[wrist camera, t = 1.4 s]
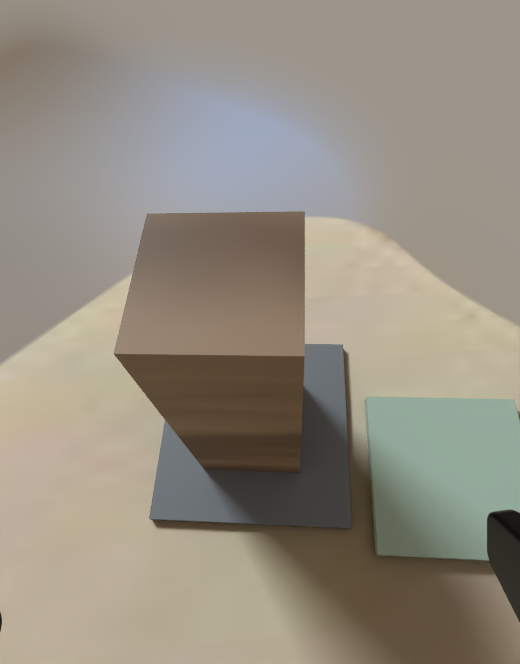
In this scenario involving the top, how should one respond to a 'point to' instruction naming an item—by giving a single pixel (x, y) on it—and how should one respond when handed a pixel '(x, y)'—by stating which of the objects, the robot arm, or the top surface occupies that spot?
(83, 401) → the top surface
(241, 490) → the card
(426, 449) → the sage board
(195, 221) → the walnut block
